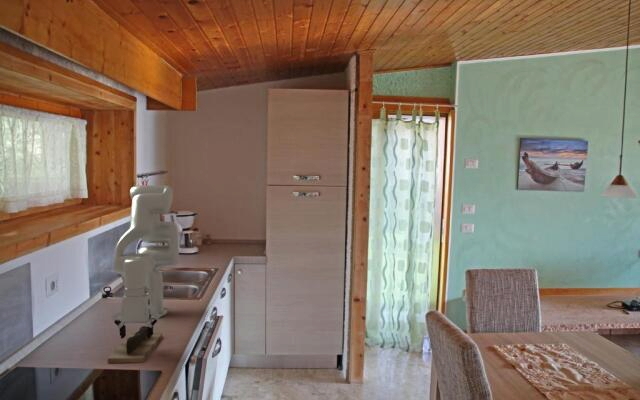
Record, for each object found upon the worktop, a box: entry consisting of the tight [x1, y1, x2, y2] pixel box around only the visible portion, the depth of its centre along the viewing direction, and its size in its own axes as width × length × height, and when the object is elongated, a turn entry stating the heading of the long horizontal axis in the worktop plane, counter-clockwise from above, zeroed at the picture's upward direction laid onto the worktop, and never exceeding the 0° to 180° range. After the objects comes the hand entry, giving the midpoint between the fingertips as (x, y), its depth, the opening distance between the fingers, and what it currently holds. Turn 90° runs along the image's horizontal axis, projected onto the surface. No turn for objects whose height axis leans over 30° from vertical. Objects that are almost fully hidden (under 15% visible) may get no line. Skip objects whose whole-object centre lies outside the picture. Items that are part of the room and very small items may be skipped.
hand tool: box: [126, 325, 149, 354], centre depth 176 cm, size 19×4×5 cm, turn 179°
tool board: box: [107, 332, 163, 364], centre depth 176 cm, size 24×12×2 cm, turn 3°
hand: (136, 337), depth 176 cm, fingers open, 9 cm apart
